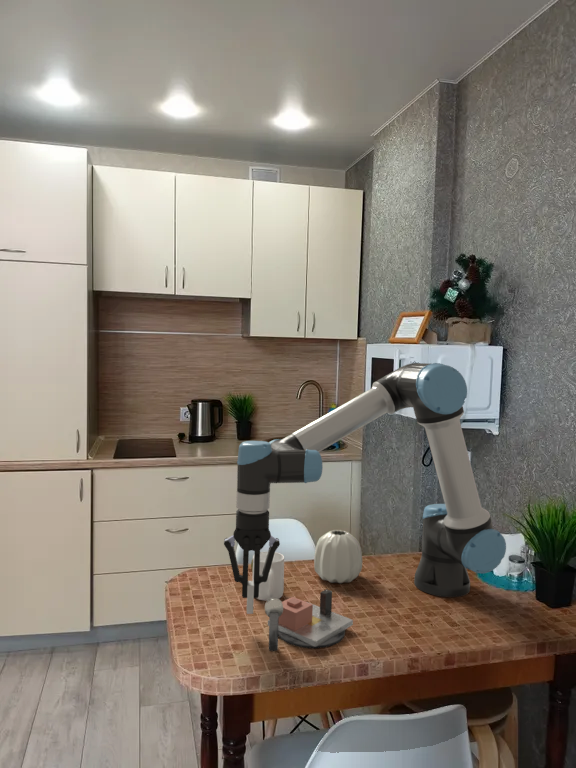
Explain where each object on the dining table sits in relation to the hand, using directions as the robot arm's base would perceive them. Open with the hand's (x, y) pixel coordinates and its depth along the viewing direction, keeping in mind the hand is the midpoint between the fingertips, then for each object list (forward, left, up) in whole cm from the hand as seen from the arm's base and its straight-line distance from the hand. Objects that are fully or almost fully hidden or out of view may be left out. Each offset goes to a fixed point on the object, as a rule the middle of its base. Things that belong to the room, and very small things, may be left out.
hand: (249, 610), depth 130 cm
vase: (-26, -31, -5) cm, 41 cm away
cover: (-10, +1, -2) cm, 10 cm away
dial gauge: (-5, +8, -5) cm, 11 cm away
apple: (-4, -30, -5) cm, 31 cm away
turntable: (-14, 0, -4) cm, 15 cm away
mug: (-5, -18, -5) cm, 19 cm away
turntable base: (-14, 0, -5) cm, 15 cm away
